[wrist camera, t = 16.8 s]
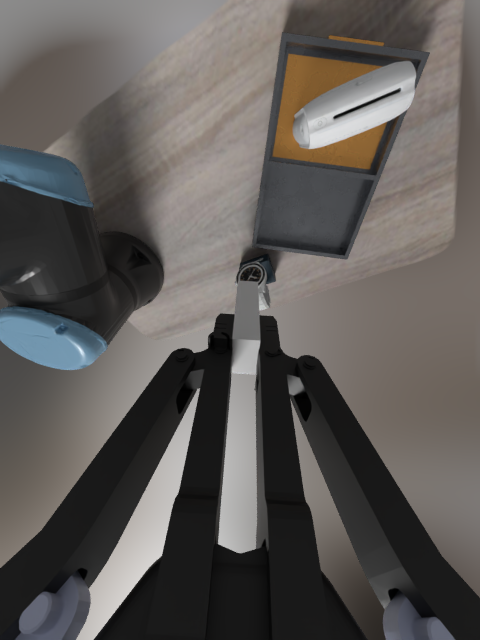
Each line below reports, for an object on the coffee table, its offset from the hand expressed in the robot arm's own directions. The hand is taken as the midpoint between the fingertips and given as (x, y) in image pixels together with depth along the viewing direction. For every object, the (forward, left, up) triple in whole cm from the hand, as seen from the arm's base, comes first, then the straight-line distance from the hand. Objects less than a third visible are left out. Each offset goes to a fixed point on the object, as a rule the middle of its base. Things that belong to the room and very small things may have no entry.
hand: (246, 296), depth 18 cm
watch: (+2, -10, -27) cm, 29 cm away
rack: (+8, +7, -27) cm, 29 cm away
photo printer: (+8, +13, -26) cm, 30 cm away
